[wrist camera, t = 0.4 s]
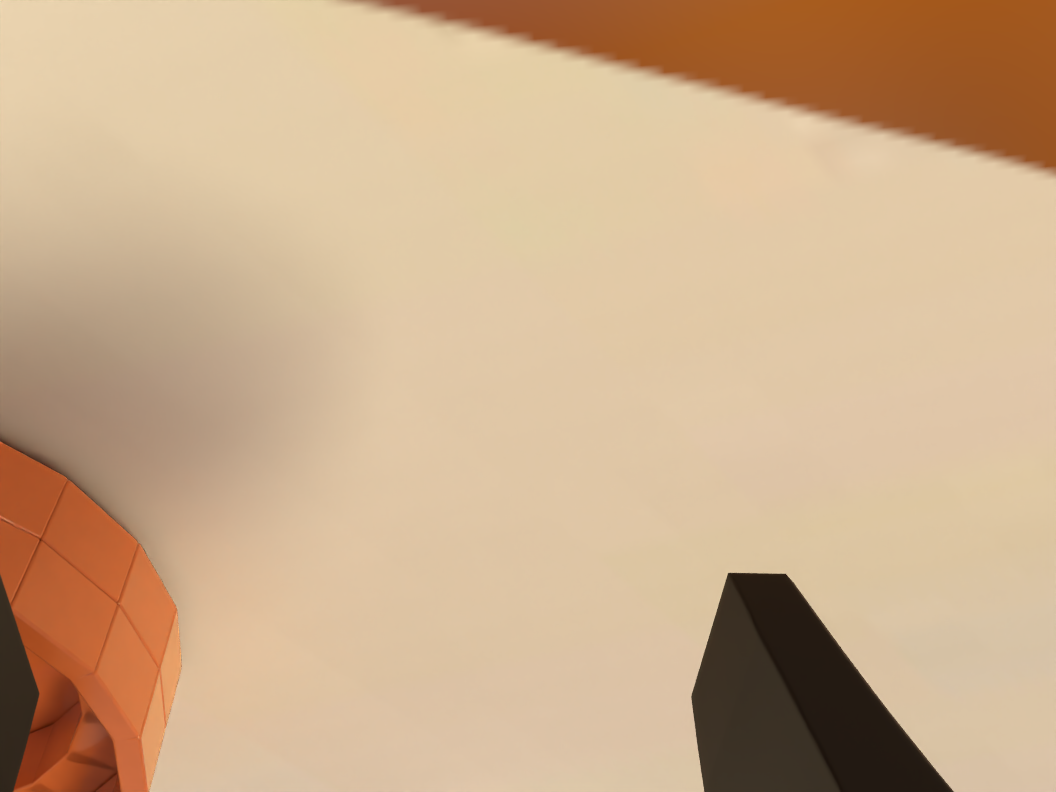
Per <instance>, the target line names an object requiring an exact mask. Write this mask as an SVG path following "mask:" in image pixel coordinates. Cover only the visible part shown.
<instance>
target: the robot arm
mask: <svg viewBox="0 0 1056 792" xmlns="http://www.w3.org/2000/svg"><path fill="white" fill-rule="evenodd" d="M39 694H40V693H39V690H38V687H37V684H36V681H35V678H34V675H33V672H32V669H31V666H30V663H29V660H28V657H27V654H26V651H25V648H24V645H23V642H22V639H21V636H20V633H19V630H18V626H17V623H16V620H15V617H14V614H13V611H12V608H11V605H10V602H9V599H8V596H7V593H6V590H5V587H4V584H3V581H2V578H1V575H0V792H13V791H14V787H15V784H16V780H17V777H18V773H19V770H20V766H21V763H22V759H23V756H24V752H25V749H26V745H27V741H28V737H29V733H30V729H31V725H32V721H33V718H34V714H35V710H36V706H37V702H38V698H39ZM691 697H692V705H693V713H694V721H695V729H696V736H697V744H698V752H699V758H700V765H701V772H702V778H703V785H704V792H954V791H953V790H952V789H951V788H950V787H949V785H948V784H947V783H946V782H945V781H944V779H943V778H942V777H941V776H940V775H939V773H938V772H937V771H936V770H935V768H934V767H933V766H932V765H931V763H930V762H929V761H928V760H927V758H926V757H925V756H924V755H923V753H922V752H921V751H920V750H919V749H918V747H917V746H916V745H915V744H914V742H913V741H912V740H911V739H910V737H909V736H908V735H907V734H906V732H905V731H904V730H903V729H902V727H901V726H900V725H899V724H898V722H897V721H896V720H895V719H894V717H893V716H892V715H891V713H890V712H889V711H888V710H887V708H886V707H885V706H884V704H883V703H882V702H881V701H880V699H879V698H878V697H877V695H876V694H875V693H874V691H873V690H872V689H871V687H870V686H869V685H868V683H867V682H866V681H865V679H864V678H863V677H862V675H861V674H860V673H859V671H858V670H857V669H856V667H855V666H854V665H853V663H852V662H851V661H850V659H849V658H848V657H847V655H846V654H845V653H844V651H843V650H842V649H841V647H840V646H839V645H838V643H837V642H836V640H835V639H834V638H833V636H832V635H831V634H830V632H829V631H828V630H827V628H826V627H825V625H824V624H823V623H822V621H821V620H820V619H819V617H818V616H817V614H816V613H815V612H814V610H813V609H812V608H811V606H810V605H809V603H808V602H807V601H806V599H805V598H804V597H803V595H802V594H801V592H800V591H799V590H798V588H797V587H796V586H795V584H794V583H793V582H792V580H791V579H790V578H789V577H788V576H787V575H786V574H758V573H728V576H727V579H726V582H725V586H724V589H723V592H722V596H721V599H720V602H719V606H718V609H717V612H716V616H715V619H714V622H713V626H712V629H711V632H710V636H709V639H708V642H707V646H706V649H705V652H704V656H703V659H702V662H701V666H700V669H699V672H698V676H697V679H696V683H695V686H694V689H693V693H692V696H691Z"/></svg>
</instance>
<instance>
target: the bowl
mask: <svg viewBox="0 0 1056 792" xmlns="http://www.w3.org/2000/svg"><path fill="white" fill-rule="evenodd" d="M0 575H1V578H2V581H3V584H4V587H5V590H6V593H7V596H8V599H9V602H10V605H11V608H12V611H13V614H14V617H15V620H16V623H17V626H18V630H19V633H20V636H21V639H22V642H23V645H24V648H25V651H26V654H27V657H28V660H29V663H30V666H31V669H32V672H33V675H34V678H35V681H36V684H37V687H38V690H39V693H40V694H39V698H38V702H37V706H36V710H35V714H34V718H33V721H32V725H31V729H30V733H29V737H28V741H27V745H26V749H25V752H24V756H23V759H22V763H21V766H20V770H19V773H18V777H17V780H16V784H15V787H14V791H13V792H149V790H150V787H151V783H152V779H153V775H154V771H155V767H156V764H157V760H158V756H159V752H160V748H161V744H162V741H163V737H164V733H165V728H166V726H167V722H168V718H169V714H170V710H171V707H172V703H173V699H174V695H175V691H176V687H177V683H178V680H179V676H180V672H181V667H182V664H181V651H180V639H179V627H178V614H177V608H176V606H175V604H174V602H173V600H172V598H171V597H170V595H169V593H168V591H167V590H166V588H165V586H164V584H163V583H162V581H161V579H160V577H159V576H158V574H157V572H156V570H155V569H154V567H153V565H152V563H151V562H150V560H149V558H148V556H147V555H146V553H145V551H144V549H143V548H142V546H141V544H138V542H137V540H136V539H135V538H134V537H132V536H131V535H130V534H129V533H128V532H127V531H126V530H125V529H124V528H123V527H121V526H120V525H119V524H118V523H117V522H116V521H115V520H114V519H113V518H111V517H110V516H109V515H108V514H107V513H106V512H105V511H104V510H103V509H101V508H100V507H99V506H98V505H97V504H96V503H95V502H94V501H93V500H91V499H90V498H89V497H88V496H87V495H86V494H85V493H84V492H83V491H82V490H80V489H79V488H78V487H77V486H76V485H75V484H74V483H73V482H72V481H70V480H67V477H65V476H63V475H62V474H60V473H58V472H56V471H54V470H52V469H50V468H49V467H47V466H45V465H43V464H41V463H39V462H38V461H36V460H34V459H32V458H30V457H28V456H26V455H25V454H23V453H21V452H19V451H17V450H15V449H13V448H12V447H10V446H8V445H6V444H4V443H2V442H0Z"/></svg>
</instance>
